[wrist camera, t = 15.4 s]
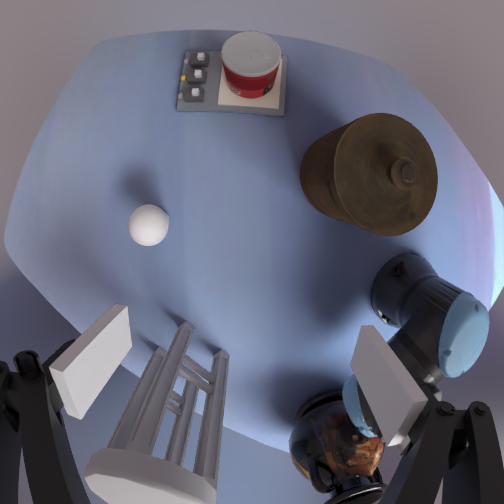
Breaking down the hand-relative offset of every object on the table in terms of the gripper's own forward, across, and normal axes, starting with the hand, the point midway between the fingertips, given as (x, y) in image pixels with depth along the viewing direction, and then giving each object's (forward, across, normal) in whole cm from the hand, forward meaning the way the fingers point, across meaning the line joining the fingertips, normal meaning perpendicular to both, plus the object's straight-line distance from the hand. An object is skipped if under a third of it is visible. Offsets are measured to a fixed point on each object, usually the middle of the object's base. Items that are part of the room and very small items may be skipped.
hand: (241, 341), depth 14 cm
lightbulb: (+33, -16, +2) cm, 37 cm away
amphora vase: (+35, +22, -41) cm, 58 cm away
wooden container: (+34, +14, +12) cm, 39 cm away
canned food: (+32, -2, +27) cm, 42 cm away
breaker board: (+33, -6, +27) cm, 43 cm away
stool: (+34, -10, -25) cm, 43 cm away
